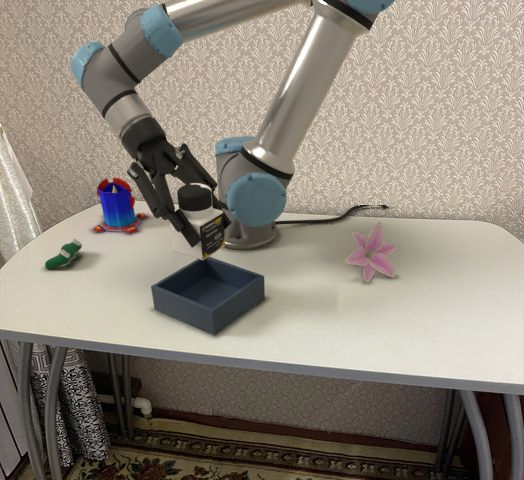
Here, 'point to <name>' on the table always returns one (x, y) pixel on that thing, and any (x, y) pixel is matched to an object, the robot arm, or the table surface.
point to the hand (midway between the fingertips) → (212, 235)
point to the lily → (372, 253)
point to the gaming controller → (64, 255)
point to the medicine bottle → (199, 222)
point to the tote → (208, 294)
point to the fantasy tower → (118, 207)
